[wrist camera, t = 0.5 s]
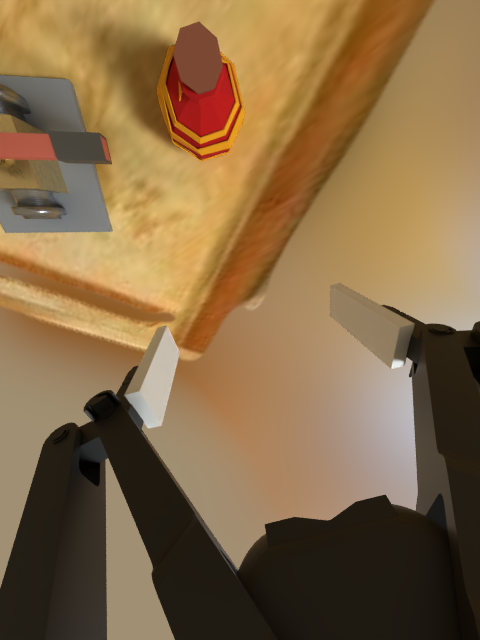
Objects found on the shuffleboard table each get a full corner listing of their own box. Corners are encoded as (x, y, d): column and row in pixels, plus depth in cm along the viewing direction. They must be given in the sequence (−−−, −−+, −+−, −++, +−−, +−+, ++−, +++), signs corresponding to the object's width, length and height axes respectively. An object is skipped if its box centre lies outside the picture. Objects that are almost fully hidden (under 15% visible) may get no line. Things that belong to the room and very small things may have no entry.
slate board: (-65, 75, 25) (-76, 70, 24) (72, 83, 27) (67, 79, 26) (10, 232, 33) (5, 232, 32) (112, 231, 35) (110, 231, 34)
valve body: (-17, 99, 26) (-108, 52, 19) (41, 102, 27) (-24, 58, 20) (33, 218, 33) (-19, 219, 25) (80, 218, 33) (41, 219, 26)
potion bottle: (206, 57, 27) (199, -97, 14) (252, 137, 31) (279, 80, 18) (153, 119, 29) (102, 38, 16) (202, 186, 33) (195, 167, 20)
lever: (-34, 170, 23) (-55, 166, 21) (-59, 122, 21) (-84, 114, 19) (114, 172, 24) (107, 169, 23) (104, 129, 23) (95, 121, 21)
